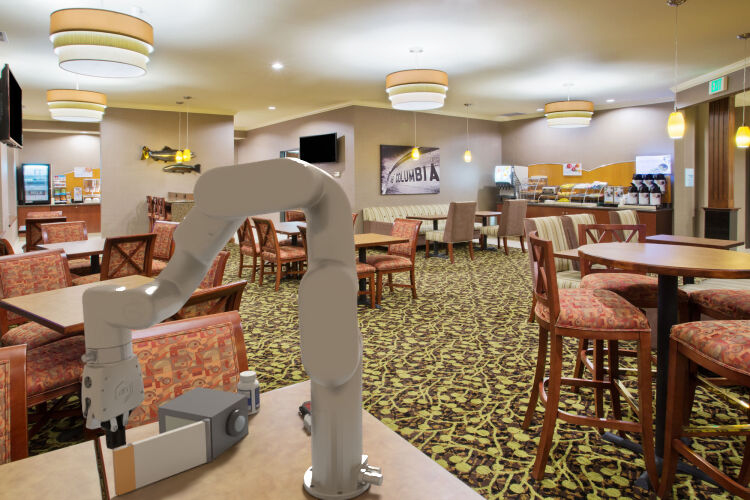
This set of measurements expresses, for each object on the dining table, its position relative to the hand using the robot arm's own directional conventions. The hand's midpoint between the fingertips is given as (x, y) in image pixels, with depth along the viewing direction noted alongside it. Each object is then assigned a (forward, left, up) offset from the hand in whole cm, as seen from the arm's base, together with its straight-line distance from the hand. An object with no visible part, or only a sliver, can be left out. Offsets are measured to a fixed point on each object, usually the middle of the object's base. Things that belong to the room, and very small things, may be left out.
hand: (116, 447), depth 92 cm
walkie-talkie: (-26, -34, -7) cm, 43 cm away
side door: (-8, -4, -6) cm, 11 cm away
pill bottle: (-5, -34, -7) cm, 35 cm away
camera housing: (-5, -18, -7) cm, 20 cm away
